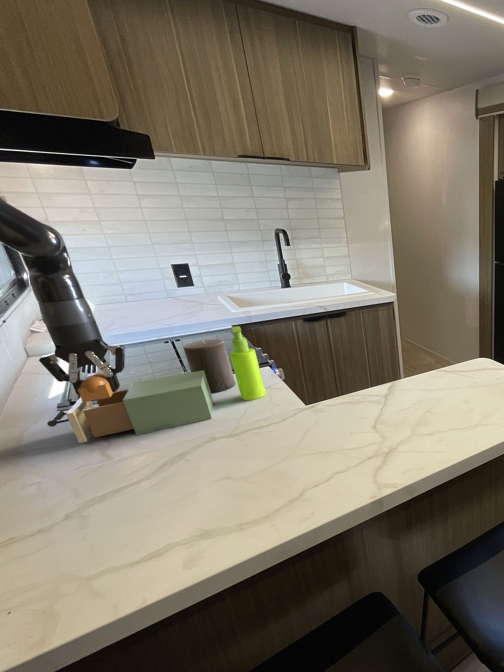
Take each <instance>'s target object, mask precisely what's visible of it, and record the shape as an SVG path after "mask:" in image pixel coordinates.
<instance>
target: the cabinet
mask: <svg viewBox="0 0 504 672" xmlns="http://www.w3.org/2000/svg"><path fill="white" fill-rule="evenodd" d="M128 389H129V390H128V392H127V394H126V395H125V397H124V399H123V402H124V405H125V408H126V410H127V413H128V415H129V418H130V420H131V423H132V425H133V428H134V429H133V431H134V432H135V435H136V436H141V435H144V434H148V433H153V432H157V431H162V430H166V429H171V428H175V427H180V426H185V425H189V424H193V423H198V422H202V421H207V420H211V419H213V411H214V410H213V409H214V399H213V396H212V393H211V392H210V389H209V386H208V382H207V379H206V376H205V373H204V370H203V371H197V372H191V371H190V372H187V373H181V374H175V375H168V376H163V377H162V376H161V377H157V378H152V379H144V380H140V381H133V383H132V384H131V385H130V387H129V388H128Z"/></svg>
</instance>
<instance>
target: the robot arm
mask: <svg viewBox="0 0 504 672" xmlns="http://www.w3.org/2000/svg"><path fill="white" fill-rule="evenodd" d="M0 243H2V244H3V245H4V246H7V247H8V248H10V249H12V250H14V251H15V252H17V253H19V254H20V256H21V259H22V260H23V263H24V265H25V268H26V270H27V273H28V282H29V286H30V288H31V291H32V293H33V295H34V298H35V299H36V302H37V305H38V309H39V312H40V313H39V314H40V316H41V318H42V319H41V320H42V322H43V323H44V324H45V328H46V329H47V332H48V334H49V336H50V339H51V340H52V341H51V342H52V344H53V345H54V347H55V350H54V352H53V353H50V354H44V355H43V356H41V357H40V358H39V359H38V361H39V362H40V363H41V365H42V366H43V367H44V368H45V369H46V370H47V371H48V372H49V374H51V375H52V377H53V378H54V379H55V380H56V381H57V382H60V383H62V382H67V383H68V382H69V383H70V384H71V385H72V387H73V389H74V392H75V394H76V395H77V396H80V394H79V392H78V389H79V388H80V387H81V383H82V381H83V380H84V379H83V378H81V371H82V368H83V367H85V366H96V368H98V369H99V370H101V372H102V373H104V374H105V375H106V376H107V377H106V379H107V381H108V382H109V385H110V387H111V390H112V392H116V391H119V390H118V389H119V388H121V387H120V386H121V384H120V381H119V379H118V375H117V374H119V373H122V372H123V370H124V369H125V361H126V360H125V357H126V356H125V355H126V351H125V350H126V348H125V345H123V344H119V345H109V344H108V343H107V342H106V341H104V339H103V336H102V334H101V332H100V329H99V325H98V324H97V321H96V318H95V316H94V313H93V311H92V308H91V306H90V304H89V303H88V301H87V300H86V297H85V294H84V292H83V290H82V287H81V285H80V282H79V279H78V278H77V276H76V274H75V272H74V269H73V265H72V262H71V261H72V260H71V258H70V255H69V252H68V248H67V245H66V242H65V240H64V238H63V236H62V234H61V233H60V232H59V231H58V230H57V229H56V228H54V227H52V225H49V224H46V223H44V222H41V221H39V220H38V219H36V218H34V217H32V216H31V215H29V214H27V213H25V212H23V211H22V210H20V209H18V208H16V207H15V206H13V205H11V204H9V203H8V202H7V201H5V200H4V199H3V197H1V196H0ZM108 351H109V352H110V354H111V356H114V360H115V361H114V367H113V366H112V365H111V364H110V362H109V361H108V360H107V359H106V357H105V356H106V355H107V353H108ZM58 358H59V359H60V360H62V361H64V362H66V363H67V364H68V373H67V372H66V371H65V370H64V369H63V368H62V367H61V366H60V365H59V363H58V362H59V359H58Z"/></svg>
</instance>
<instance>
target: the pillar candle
mask: <svg viewBox="0 0 504 672" xmlns="http://www.w3.org/2000/svg"><path fill="white" fill-rule="evenodd" d="M183 351H184V354H185V357H186V360H187V363H188V367H189V369H190V373H191V372H197V371H203V370H204V373H205V376H206V379H207V382H208V386H209V389H210V392H211V394H213V393H219V392H225V391H227V390H229V389H231V388H233V387H235V385H236V384H237V383H236V382H237V381H236V378H235V377H234V371H233V368H232V365H231V363H230V358H229V356H228V352H227V348H226V344H225V342H224V340H223V339H220V338H214V339H213V338H212V339H203V338H201V340H198V341H193V342H189V343H187V344H184V345H183Z"/></svg>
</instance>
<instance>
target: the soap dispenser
mask: <svg viewBox="0 0 504 672" xmlns="http://www.w3.org/2000/svg"><path fill="white" fill-rule="evenodd" d="M230 329H231V331H232V333H233V336H234V338H232V339H231V343H232V347H233V351H231V352H229V357H230V358H229V359H230V361H231V364H232V365H231V366H232V369H233V373H234V375H235V380H236V382H237V383H236V384H237V386H238V390H239V393H240V397H241V399H242V401H255V400H258V399H261V398H264V397H265V396H266V394H267V393H266V389H265V385H264V380H263V376H262V372H261V369H260V364H259V360H258V357H257V352H256V350H255V348H250V347H249V344H248V340H247V337H244V336H243V334H242V332H243V331H242V328H241V326H240V325H235V326H231V328H230Z"/></svg>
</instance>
